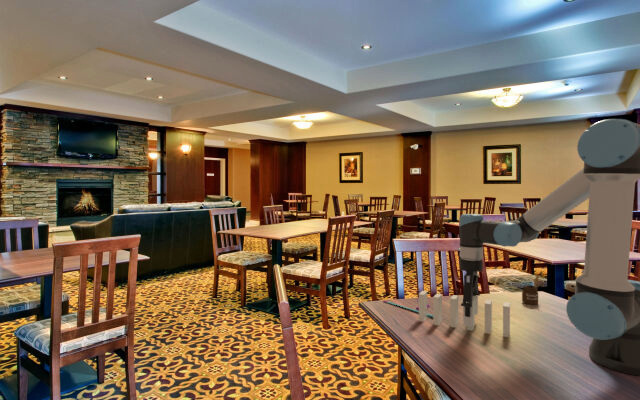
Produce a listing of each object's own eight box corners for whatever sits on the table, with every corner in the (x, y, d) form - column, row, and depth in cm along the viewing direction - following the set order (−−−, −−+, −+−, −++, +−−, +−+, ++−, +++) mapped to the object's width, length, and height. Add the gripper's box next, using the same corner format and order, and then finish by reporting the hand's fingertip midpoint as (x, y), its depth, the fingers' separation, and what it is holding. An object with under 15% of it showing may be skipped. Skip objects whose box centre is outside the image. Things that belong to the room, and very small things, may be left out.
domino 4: (474, 326, 124) (474, 297, 124) (472, 330, 120) (472, 301, 119) (469, 325, 125) (469, 297, 125) (467, 329, 121) (467, 300, 120)
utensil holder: (519, 300, 153) (519, 273, 152) (533, 300, 152) (533, 273, 152) (527, 305, 147) (527, 276, 146) (542, 305, 147) (542, 276, 146)
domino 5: (491, 329, 121) (491, 300, 121) (490, 334, 117) (490, 304, 117) (486, 328, 122) (486, 299, 122) (484, 333, 118) (484, 303, 118)
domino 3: (458, 323, 127) (458, 295, 127) (455, 327, 122) (455, 299, 122) (452, 322, 128) (452, 294, 128) (450, 326, 123) (450, 298, 123)
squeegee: (456, 312, 135) (440, 317, 129) (456, 316, 135) (440, 322, 129) (398, 296, 158) (383, 300, 152) (398, 300, 158) (383, 304, 152)
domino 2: (441, 321, 129) (441, 294, 129) (438, 325, 125) (438, 297, 124) (436, 320, 130) (436, 293, 130) (433, 324, 125) (433, 296, 125)
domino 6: (509, 332, 118) (510, 302, 118) (509, 337, 114) (509, 306, 114) (503, 331, 119) (504, 301, 119) (503, 336, 115) (503, 306, 115)
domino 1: (427, 317, 132) (427, 291, 132) (423, 321, 128) (423, 294, 128) (422, 316, 133) (422, 290, 133) (418, 321, 129) (418, 294, 129)
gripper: (465, 252, 134) (465, 307, 135) (452, 263, 113) (452, 329, 113) (486, 254, 131) (486, 310, 131) (478, 266, 109) (478, 333, 110)
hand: (470, 319), depth 122 cm, fingers open, 13 cm apart
